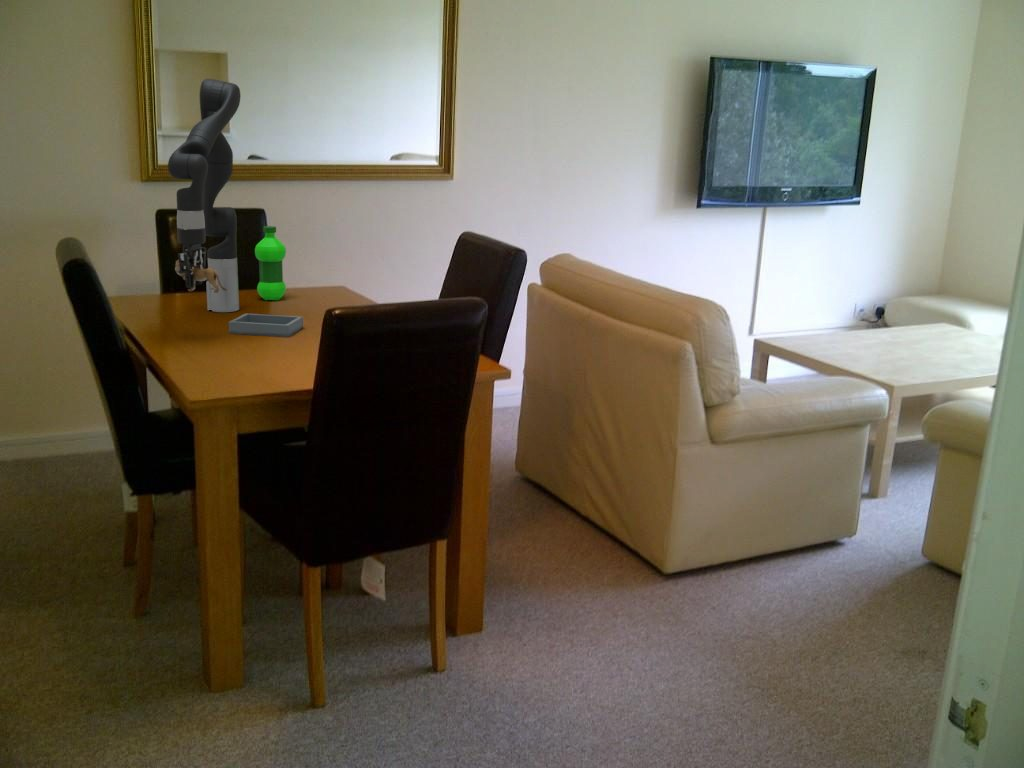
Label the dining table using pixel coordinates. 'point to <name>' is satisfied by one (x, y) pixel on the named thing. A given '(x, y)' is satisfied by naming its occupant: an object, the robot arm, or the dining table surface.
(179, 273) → the lion figurine
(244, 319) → the tray
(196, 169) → the robot arm
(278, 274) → the plastic bottle
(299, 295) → the dining table surface
